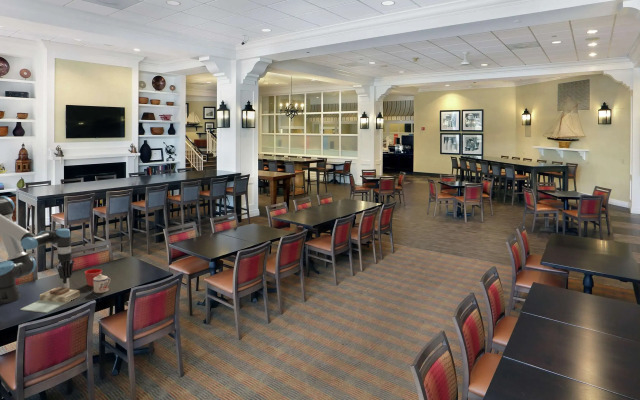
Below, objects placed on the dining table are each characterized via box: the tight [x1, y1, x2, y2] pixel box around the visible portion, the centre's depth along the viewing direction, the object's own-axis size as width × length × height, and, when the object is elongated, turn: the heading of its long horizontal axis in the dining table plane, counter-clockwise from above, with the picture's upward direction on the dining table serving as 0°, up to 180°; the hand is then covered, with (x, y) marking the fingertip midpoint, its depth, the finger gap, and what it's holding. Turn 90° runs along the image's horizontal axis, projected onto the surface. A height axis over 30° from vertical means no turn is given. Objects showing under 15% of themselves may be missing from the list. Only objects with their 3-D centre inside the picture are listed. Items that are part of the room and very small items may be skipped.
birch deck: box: [39, 287, 81, 305], centre depth 260 cm, size 18×12×4 cm, turn 81°
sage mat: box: [19, 299, 66, 314], centre depth 248 cm, size 18×14×1 cm
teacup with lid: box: [93, 273, 111, 294], centre depth 276 cm, size 12×9×12 cm
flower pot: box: [84, 268, 103, 287], centre depth 286 cm, size 11×11×10 cm
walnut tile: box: [50, 286, 71, 295], centre depth 260 cm, size 8×7×2 cm
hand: (66, 287), depth 266 cm, fingers closed
